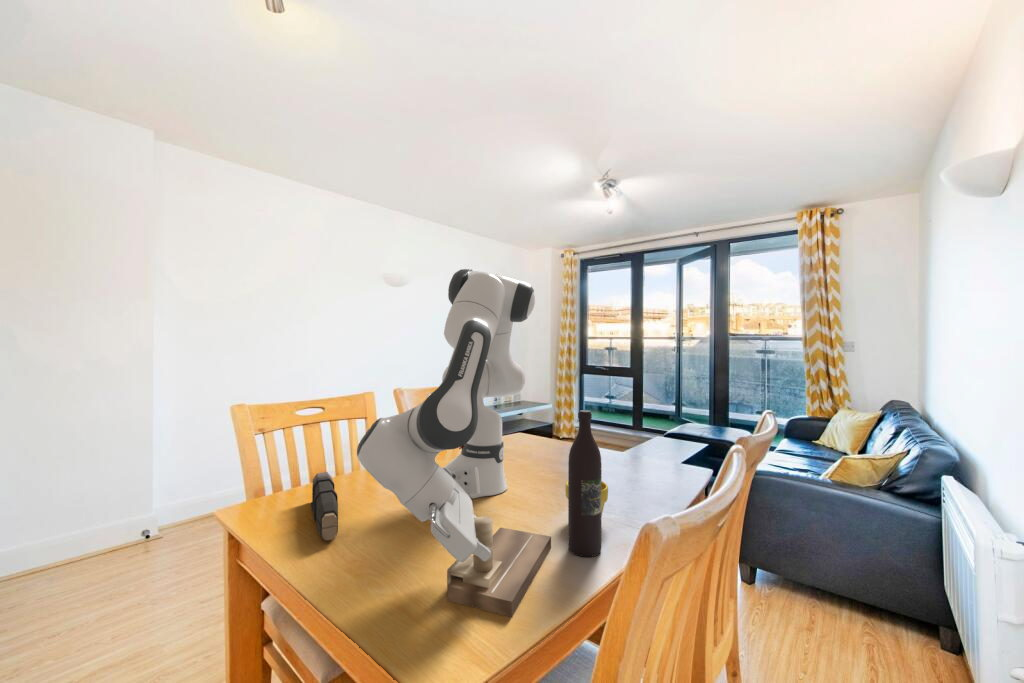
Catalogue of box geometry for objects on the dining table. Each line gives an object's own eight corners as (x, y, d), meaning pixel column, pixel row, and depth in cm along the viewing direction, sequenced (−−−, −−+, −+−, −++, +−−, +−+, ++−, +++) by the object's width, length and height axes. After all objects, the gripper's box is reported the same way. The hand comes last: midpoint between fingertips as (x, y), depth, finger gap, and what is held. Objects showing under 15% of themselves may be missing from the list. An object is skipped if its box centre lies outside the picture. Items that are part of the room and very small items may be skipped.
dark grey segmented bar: (306, 563, 88) (304, 499, 114) (339, 562, 91) (329, 500, 117) (320, 514, 88) (314, 461, 114) (352, 515, 91) (339, 464, 117)
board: (447, 600, 70) (447, 585, 70) (500, 538, 93) (500, 527, 93) (511, 617, 66) (511, 601, 66) (551, 547, 89) (551, 536, 89)
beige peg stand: (447, 589, 73) (447, 522, 73) (462, 571, 78) (462, 509, 78) (488, 599, 70) (489, 529, 70) (502, 580, 75) (502, 516, 75)
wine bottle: (579, 560, 83) (580, 414, 83) (562, 545, 90) (562, 409, 90) (608, 553, 86) (608, 412, 86) (589, 539, 93) (589, 407, 93)
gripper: (443, 504, 62) (506, 563, 64) (445, 464, 83) (493, 510, 84) (413, 535, 62) (477, 594, 63) (423, 487, 82) (471, 533, 83)
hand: (486, 545), depth 74 cm, fingers open, 6 cm apart
